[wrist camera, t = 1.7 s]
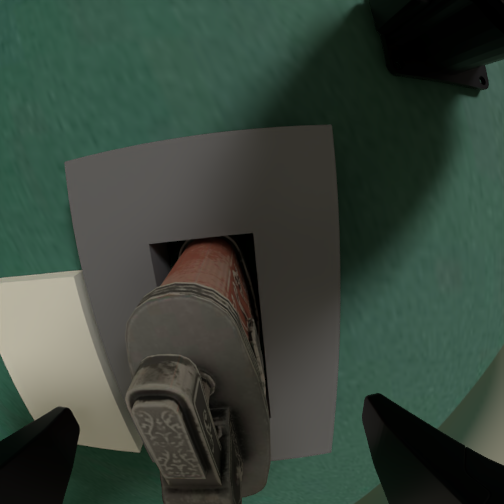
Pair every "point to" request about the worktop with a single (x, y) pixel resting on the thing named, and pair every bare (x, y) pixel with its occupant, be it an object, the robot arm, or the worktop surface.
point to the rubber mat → (62, 357)
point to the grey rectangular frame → (223, 224)
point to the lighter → (201, 377)
